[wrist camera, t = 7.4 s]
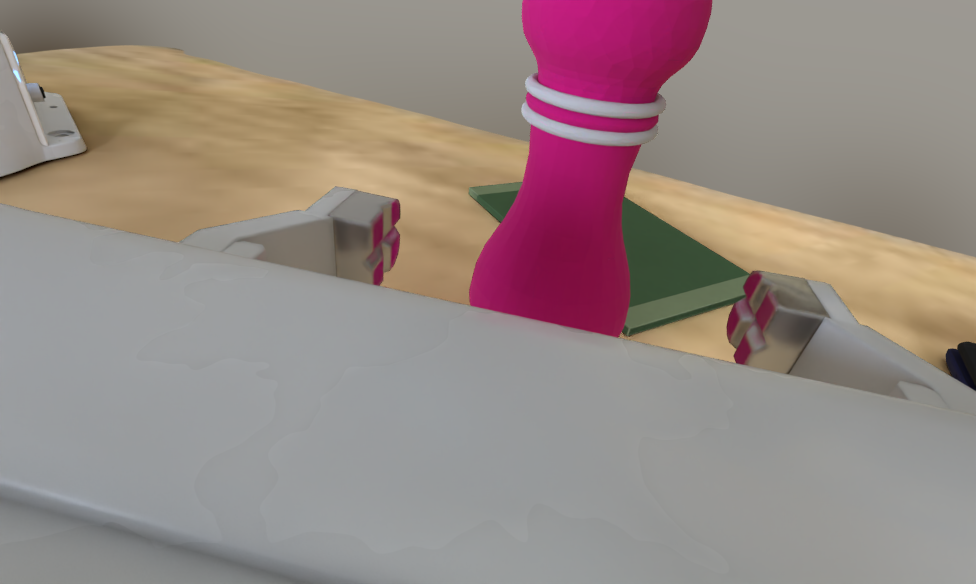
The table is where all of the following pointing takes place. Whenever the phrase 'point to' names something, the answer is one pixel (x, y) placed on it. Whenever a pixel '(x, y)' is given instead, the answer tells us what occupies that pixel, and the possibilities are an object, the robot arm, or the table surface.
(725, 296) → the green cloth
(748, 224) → the table surface
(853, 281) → the table surface
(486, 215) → the table surface
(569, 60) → the pepper mill
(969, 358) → the laptop
